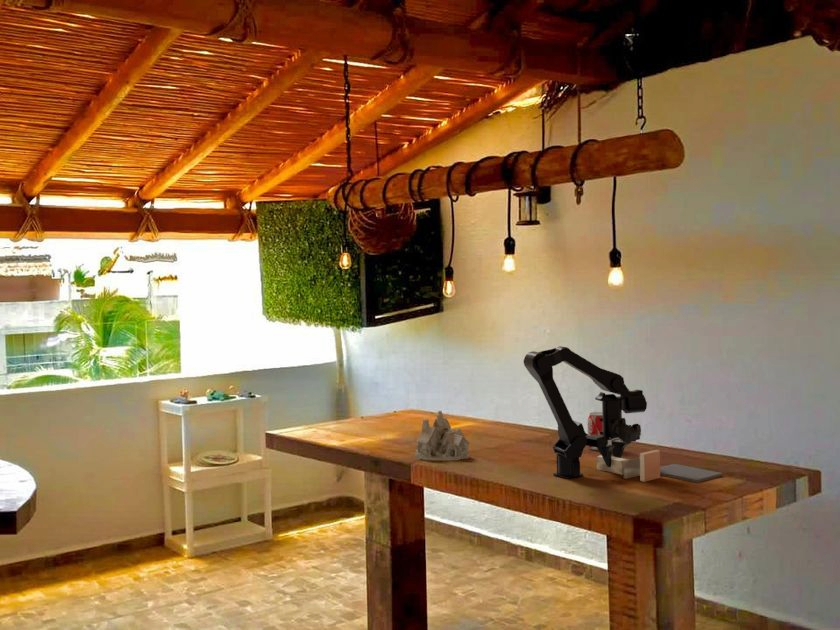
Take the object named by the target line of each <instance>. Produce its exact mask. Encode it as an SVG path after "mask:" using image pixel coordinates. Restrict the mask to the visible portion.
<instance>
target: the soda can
mask: <svg viewBox="0 0 840 630" xmlns="http://www.w3.org/2000/svg"><path fill="white" fill-rule="evenodd" d="M601 417H602V412H598V411H597V412H596V411H595V412H589V416H588V417H587V435H588V436H589V435H594V434H595V435H600V431H603V422H602V421H600V419H599V418H601ZM601 436H603V435H601ZM588 448H590V449H591V450H592V451H599V450H598V448H597V447H592V446H588Z"/></svg>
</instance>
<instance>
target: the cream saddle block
mask: <svg viewBox="0 0 840 630" xmlns="http://www.w3.org/2000/svg"><path fill="white" fill-rule="evenodd" d="M596 470H600V471H603V472H608V473H613V474H617V475H621V476H623V479H630V478H635V477H639V476H640V456H639V457H636V458H632V459H629V458H622V457H621V458H618V457H613V455H612V457H611V467H607V465H606V463H605V461H604V459H603V457H602V455H601V454H600V455H598V456H597V455H596Z"/></svg>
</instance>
